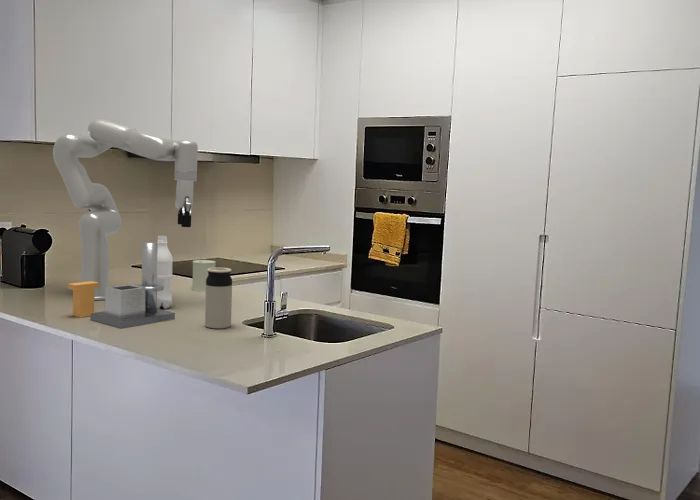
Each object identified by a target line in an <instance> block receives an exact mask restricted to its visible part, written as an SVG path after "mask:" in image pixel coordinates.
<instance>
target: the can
mask: <svg viewBox="0 0 700 500" xmlns="http://www.w3.org/2000/svg"><path fill="white" fill-rule="evenodd" d="M216 263H217V261H215V260H209V259H196V260H195V259H194V260H192V286H191V290H192V291H193V290H194V291H195V292H199V291H206V279H207V277H208V271H207V269H208V268H216V265H217V264H216Z"/></svg>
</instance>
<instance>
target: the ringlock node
mask: <svg viewBox="0 0 700 500" xmlns="http://www.w3.org/2000/svg"><path fill="white" fill-rule="evenodd" d="M157 253H158V243H157V242H151V241H150V242H146V241H145V242H142V243H141V283H137V284H134V285H133V284H123V285H114V286H109V287H106V288H105V299H104V304H105V305H104V311H98V312H94V313H91V316H90V321H94V322H97V323H100V322H101V323H100V324H104V325H108V326H112V327H115V328H118V327H119V329H125V328H131V327H137V326H141V325H142V326H143V325H148V323H149V324H153V322H154V323H158V322H159V321H160V322H164V321H171V320H175V319H176V312H175V311H174V312H173V311H170V310H166V309H161V308H159V309H157V291H162V290H164V285H162V284H157ZM170 319H171V320H170Z"/></svg>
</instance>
